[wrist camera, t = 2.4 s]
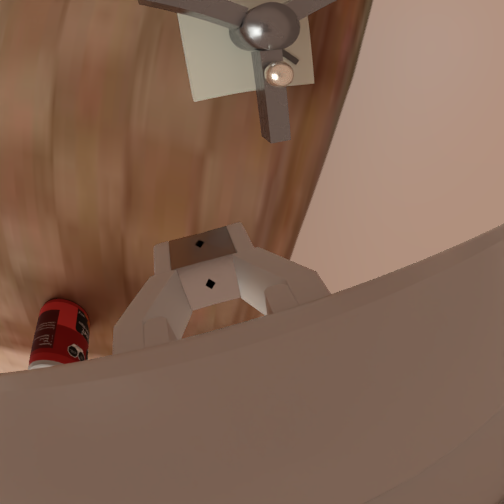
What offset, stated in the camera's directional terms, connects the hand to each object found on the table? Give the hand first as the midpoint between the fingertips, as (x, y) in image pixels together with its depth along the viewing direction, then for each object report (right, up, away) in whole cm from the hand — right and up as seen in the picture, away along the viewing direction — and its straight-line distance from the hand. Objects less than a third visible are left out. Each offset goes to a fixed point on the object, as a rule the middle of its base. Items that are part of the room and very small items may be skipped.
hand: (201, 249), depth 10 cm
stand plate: (+1, +21, +12) cm, 24 cm away
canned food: (-25, -9, +26) cm, 37 cm away
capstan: (+2, +18, +12) cm, 22 cm away
